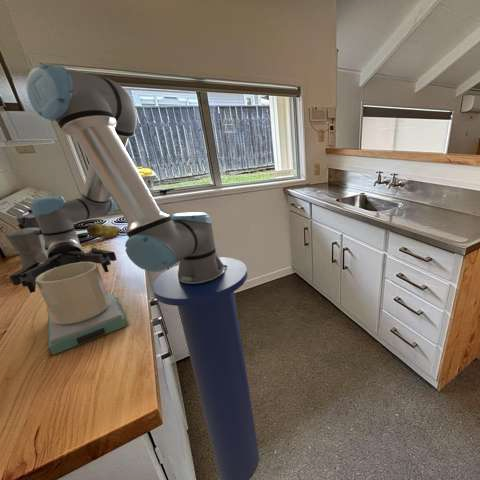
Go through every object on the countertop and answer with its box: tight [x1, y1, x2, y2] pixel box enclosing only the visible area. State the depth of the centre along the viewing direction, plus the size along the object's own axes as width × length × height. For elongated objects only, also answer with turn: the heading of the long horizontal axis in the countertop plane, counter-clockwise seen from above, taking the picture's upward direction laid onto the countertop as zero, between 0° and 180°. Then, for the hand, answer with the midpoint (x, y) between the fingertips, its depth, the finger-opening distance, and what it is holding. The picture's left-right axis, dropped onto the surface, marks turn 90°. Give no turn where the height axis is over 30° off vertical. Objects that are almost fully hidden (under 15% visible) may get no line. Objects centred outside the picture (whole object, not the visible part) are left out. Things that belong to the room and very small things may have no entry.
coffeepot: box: [4, 223, 48, 269], centre depth 97 cm, size 15×9×18 cm, turn 94°
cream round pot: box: [35, 262, 110, 324], centre depth 65 cm, size 11×11×12 cm
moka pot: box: [15, 208, 48, 251], centre depth 109 cm, size 10×15×20 cm, turn 33°
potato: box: [86, 223, 121, 239], centre depth 131 cm, size 8×13×8 cm, turn 133°
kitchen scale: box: [47, 290, 128, 356], centre depth 67 cm, size 14×19×3 cm
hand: (70, 276), depth 63 cm, fingers open, 13 cm apart
